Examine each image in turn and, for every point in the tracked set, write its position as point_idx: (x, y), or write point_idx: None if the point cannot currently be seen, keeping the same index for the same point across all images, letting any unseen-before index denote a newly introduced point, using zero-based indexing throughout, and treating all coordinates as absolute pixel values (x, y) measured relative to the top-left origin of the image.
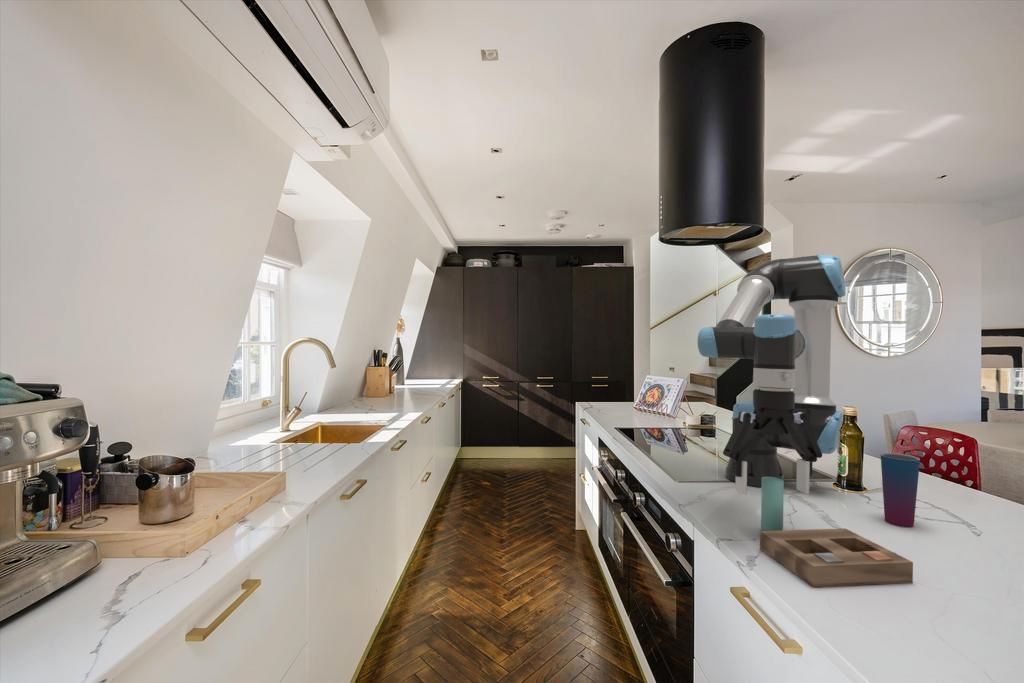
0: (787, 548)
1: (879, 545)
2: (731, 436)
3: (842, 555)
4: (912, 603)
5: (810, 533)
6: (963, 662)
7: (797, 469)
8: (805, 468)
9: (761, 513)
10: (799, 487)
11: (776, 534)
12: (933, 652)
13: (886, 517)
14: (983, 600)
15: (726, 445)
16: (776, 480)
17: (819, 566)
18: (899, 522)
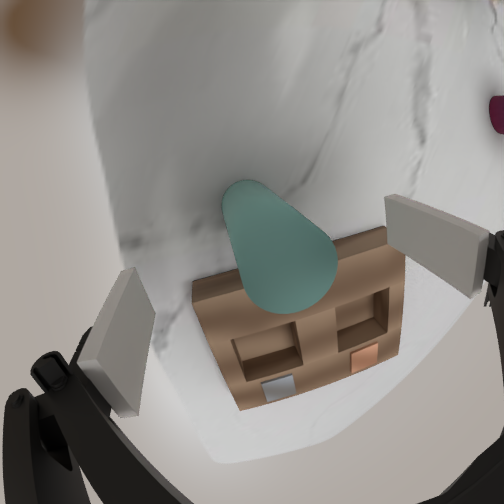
0: (222, 371)
1: (402, 310)
2: (13, 501)
3: (311, 370)
4: (339, 383)
5: None
6: (303, 442)
7: (440, 222)
8: (449, 280)
9: (226, 218)
10: (393, 215)
11: (226, 313)
12: (289, 440)
13: (495, 110)
14: (417, 349)
15: (5, 439)
16: (302, 285)
17: (249, 407)
18: (498, 128)
